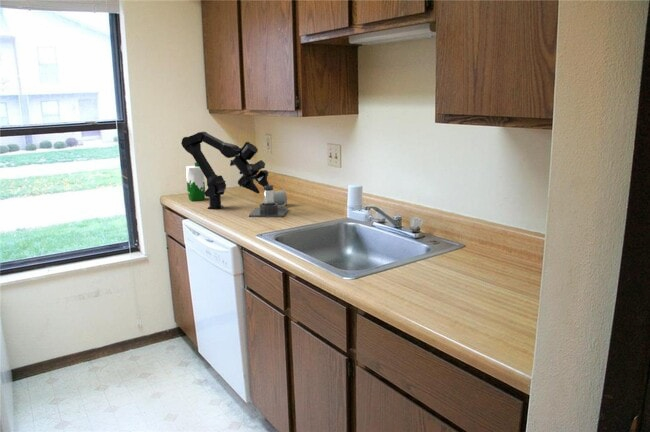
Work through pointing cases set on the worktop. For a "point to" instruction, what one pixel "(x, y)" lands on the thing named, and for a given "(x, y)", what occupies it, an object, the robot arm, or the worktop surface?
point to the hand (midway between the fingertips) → (264, 191)
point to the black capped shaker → (268, 195)
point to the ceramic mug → (280, 198)
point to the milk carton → (195, 183)
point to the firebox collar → (268, 211)
